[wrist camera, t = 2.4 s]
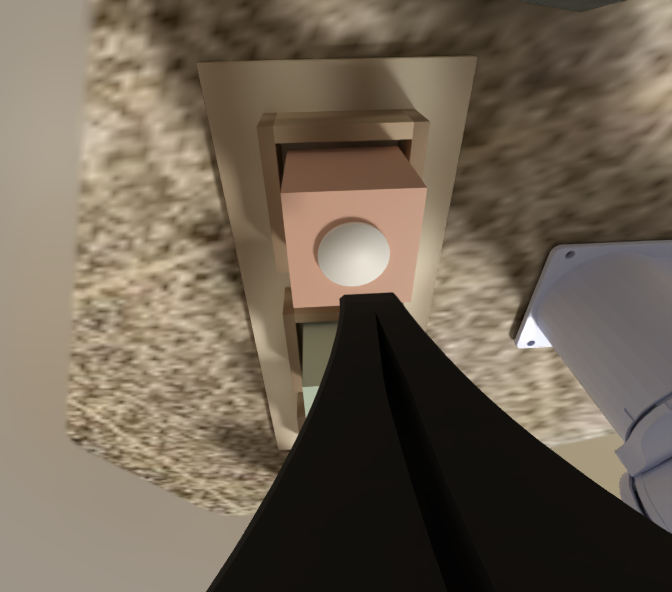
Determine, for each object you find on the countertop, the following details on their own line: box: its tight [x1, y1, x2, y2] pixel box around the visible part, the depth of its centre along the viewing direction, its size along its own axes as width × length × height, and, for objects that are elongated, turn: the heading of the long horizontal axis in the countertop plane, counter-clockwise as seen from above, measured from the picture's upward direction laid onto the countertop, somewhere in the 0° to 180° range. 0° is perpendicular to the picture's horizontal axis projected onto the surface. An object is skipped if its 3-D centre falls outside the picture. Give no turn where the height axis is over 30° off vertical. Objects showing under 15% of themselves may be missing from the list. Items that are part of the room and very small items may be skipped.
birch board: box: [196, 55, 478, 450], centre depth 22 cm, size 11×28×3 cm, turn 1°
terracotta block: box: [280, 146, 427, 308], centre depth 14 cm, size 4×4×5 cm
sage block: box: [302, 321, 338, 417], centre depth 19 cm, size 4×4×5 cm
